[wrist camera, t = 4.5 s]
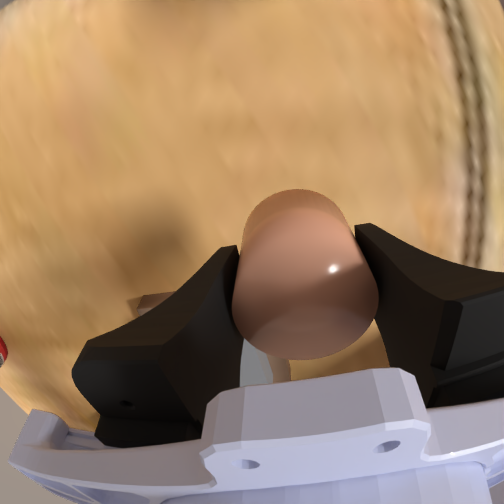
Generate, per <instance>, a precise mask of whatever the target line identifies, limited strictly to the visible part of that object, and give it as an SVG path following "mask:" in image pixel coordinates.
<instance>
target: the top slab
mask: <svg viewBox="0 0 504 504" xmlns="http://www.w3.org/2000/svg"><path fill="white" fill-rule="evenodd" d="M268 383H273V373H272V370H271V367H270V364H269V361H268V358H267V355H266V353H264V352H262V351H260V350H258V349H257V348H255V347H254V346H252V345H251V344H250V343H249V342H248V341H247V340H245V338H244V343H243V349H242V356H241V365H240V387H243V386H247V385H258V384H268Z"/></svg>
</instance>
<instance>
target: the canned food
mask: <svg viewBox="0 0 504 504" xmlns="http://www.w3.org/2000/svg"><path fill="white" fill-rule="evenodd" d="M7 354H8V351H7V348H6V345H5V343H4V341H3V340H2V338H1V337H0V368H1V366H2V365H3V363H4V362H5V360H6V358H7Z"/></svg>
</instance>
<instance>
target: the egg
mask: <svg viewBox="0 0 504 504" xmlns="http://www.w3.org/2000/svg"><path fill="white" fill-rule="evenodd" d="M378 300H379V296H378V288H377V284H376V281H375V279H374V277H373V274H372V272H371V270H370V268H369V266H368V264H367V261H366V259H365V257H364V255H363V253H362V251H361V249H360V247H359V245H358V243H357V241H356V239H355V237H354V234H353V232H352V230H351V228H350V226H349V224H348V223H347V221H346V219H345V217H344V215H343V213H342V211H341V210H340V209H339V207H338V206H337V205H336V204H335V203H334V202H333V201H331V200H330V199H329V198H327V197H325V196H324V195H322V194H319V193H317V192H313V191H310V190H303V189H293V190H286V191H282V192H279V193H276V194H273V195H271V196H270V197H268V198H266V199H265V200H263V201H262V202H261V203H260V204H259V205H257V206H256V207H255V209H254V210H253V211H252V212H251V214H250V216H249V217H248V219H247V222H246V224H245V228H244V233H243V239H242V245H241V250H240V256H239V262H238V268H237V274H236V280H235V286H234V293H233V299H232V315H233V319H234V322H235V325H236V327H237V329H238V330H239V332H240V334H241V335H242V336H243V337H244V338H245V340H247V341H248V342H249V343H250V344H251V345H252V346H254V347H255V348H257V349H258V350H260V351H262V352H264V353H266V354H269V355H272V356H275V357H278V358H283V359H290V360H309V359H316V358H322V357H325V356H328V355H331V354H334V353H336V352H339V351H341V350H343V349H345V348H346V347H348V346H349V345H351V344H352V343H354V342H355V341H356V340H357V339H359V338H360V337H361V336H362V335H363V334H364V333H365V331H366V330H367V329H368V327H369V326H370V324H371V323H372V321H373V319H374V317H375V314H376V311H377V308H378Z"/></svg>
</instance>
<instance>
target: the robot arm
mask: <svg viewBox="0 0 504 504" xmlns="http://www.w3.org/2000/svg"><path fill="white" fill-rule="evenodd" d="M354 227H355V239H356V241H357V243H358V245H359V247H360V249H361V251H362V253H363V255H364V257H365V259H366V261H367V264H368V266H369V268H370V270H371V272H372V274H373V277H374V279H375V281H376V284H377V288H378V296H379V300H378V308H377V311H376V314H375V317H374V319H375V321H376V324H377V326H378V328H379V331H380V333H381V336H382V339H383V342H384V345H385V348H386V352H387V356H388V360H389V364H390V368H369V369H364V370H359V371H354V372H348V373H342V374H336V375H330V376H324V377H317V378H310V379H303V380H295V381H287V382H278V383H268V384H258V385H247V386H243V387H240V365H241V356H242V349H243V343H244V337H243V336H242V335H241V334H240V332H239V330H238V329H237V327H236V325H235V322H234V319H233V315H232V299H233V293H234V286H235V280H236V274H237V268H238V262H239V253H238V249H237V245H232V246H227V247H221V248H220V249H218V250H217V251H216V252H215V253H214V254H213V255H212V257H211V258H210V259H209V260H208V261H207V262H206V263H205V264H204V265H203V266H202V267H201V268H200V269H199V270H198V271H197V272H196V273H195V274H194V275H193V276H192V277H191V278H190V279H189V280H188V281H187V282H186V283H185V284H184V285H183V286H182V287H180V288H179V289H178V290H177V291H176V292H175V293H173V294H172V295H171V296H170V297H168V298H167V299H166V300H164V301H163V302H162V303H160V304H159V305H157V306H156V307H154V308H153V309H151V310H149V311H148V312H146V313H145V314H143V315H142V316H140V317H138V318H136V319H135V320H133V321H131V322H129V323H127V324H125V325H123V326H121V327H119V328H117V329H115V330H113V331H110V332H108V333H105V334H103V335H100V336H98V337H95V338H93V339H90V340H88V341H87V342H86V344H85V346H84V348H83V349H82V351H81V353H80V355H79V357H78V359H77V361H76V362H75V364H74V366H73V368H72V378H73V381H74V383H75V386H76V387H77V388H78V390H79V391H80V393H81V394H82V395H83V396H84V397H85V398H86V399H87V401H88V402H89V403H90V404H91V405H92V406H93V407H94V408H95V410H96V411H97V412H98V413H99V414H100V415H101V418H100V420H99V423H98V426H97V428H96V431H95V432H90V431H84V430H79V429H74V428H69V426H68V425H67V424H66V423H65V422H64V421H63V420H62V419H61V418H60V417H59V416H57V415H55V414H53V413H50V412H46V411H41V410H37V409H32V410H31V412H30V414H29V417H28V418H27V420H26V422H25V424H24V427H23V429H22V431H21V433H20V435H19V437H18V439H17V441H16V443H15V446H14V448H13V450H12V452H11V454H10V457H9V459H8V462H9V464H11V465H12V466H13V467H14V468H16V469H17V470H19V471H20V472H21V473H23V474H24V475H25V476H27V477H28V478H30V479H31V480H33V481H34V482H36V483H37V484H39V485H40V486H42V487H43V488H45V489H46V490H48V491H50V492H51V493H53V494H55V495H57V496H60V497H62V498H65V499H67V500H70V501H73V502H75V503H78V504H504V272H494V271H488V270H482V269H477V268H472V267H468V266H464V265H461V264H457V263H453V262H450V261H447V260H444V259H441V258H439V257H436V256H434V255H431V254H428V253H426V252H424V251H422V250H420V249H418V248H415V247H413V246H411V245H409V244H407V243H406V242H404V241H402V240H400V239H398V238H396V237H395V236H393V235H391V234H389V233H388V232H386V231H384V230H383V229H381V228H379V227H377V226H375V225H374V224H371V223H366V224H360V225H354Z"/></svg>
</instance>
